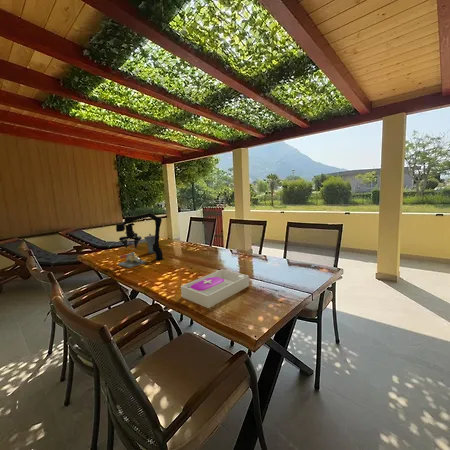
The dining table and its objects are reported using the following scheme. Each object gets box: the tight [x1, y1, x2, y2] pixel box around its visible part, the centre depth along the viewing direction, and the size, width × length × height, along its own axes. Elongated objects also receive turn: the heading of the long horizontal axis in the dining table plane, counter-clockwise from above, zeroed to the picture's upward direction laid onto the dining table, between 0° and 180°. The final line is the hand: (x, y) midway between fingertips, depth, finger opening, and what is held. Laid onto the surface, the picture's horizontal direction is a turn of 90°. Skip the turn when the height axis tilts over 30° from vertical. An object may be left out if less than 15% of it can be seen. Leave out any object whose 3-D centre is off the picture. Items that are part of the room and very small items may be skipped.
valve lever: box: [119, 251, 135, 259], centre depth 206 cm, size 13×2×2 cm, turn 143°
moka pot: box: [143, 233, 156, 255], centre depth 246 cm, size 10×15×20 cm, turn 115°
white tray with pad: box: [180, 268, 250, 309], centre depth 142 cm, size 22×35×7 cm, turn 138°
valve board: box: [117, 259, 147, 269], centre depth 210 cm, size 18×16×2 cm
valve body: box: [125, 255, 142, 263], centre depth 211 cm, size 18×5×6 cm, turn 53°
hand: (131, 248), depth 211 cm, fingers open, 9 cm apart
